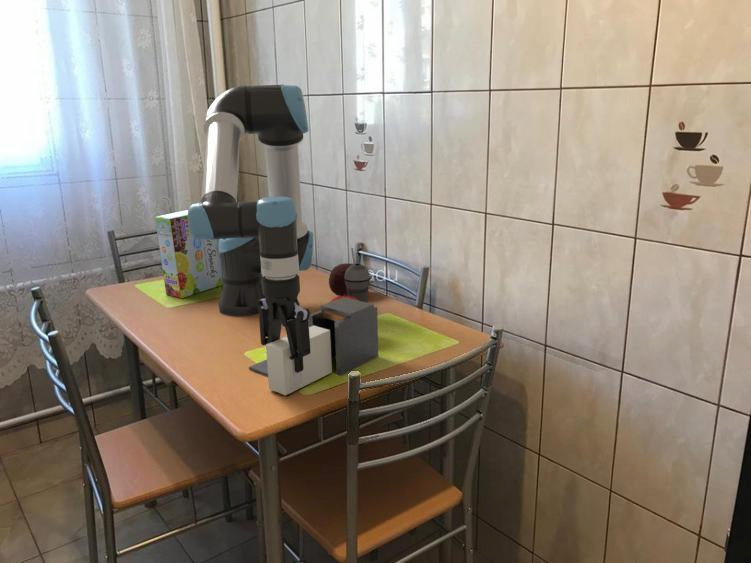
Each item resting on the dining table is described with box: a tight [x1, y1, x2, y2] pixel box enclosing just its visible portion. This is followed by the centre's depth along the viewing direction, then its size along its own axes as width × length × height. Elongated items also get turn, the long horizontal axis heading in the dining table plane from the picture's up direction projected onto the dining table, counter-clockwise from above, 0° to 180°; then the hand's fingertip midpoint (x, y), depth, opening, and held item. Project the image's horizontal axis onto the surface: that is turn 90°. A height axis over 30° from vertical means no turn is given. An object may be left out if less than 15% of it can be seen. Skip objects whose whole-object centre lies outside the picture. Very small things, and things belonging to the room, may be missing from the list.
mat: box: [248, 359, 268, 377], centre depth 146 cm, size 9×16×1 cm, turn 141°
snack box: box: [154, 209, 223, 299], centre depth 201 cm, size 22×9×26 cm, turn 144°
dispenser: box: [308, 297, 379, 377], centre depth 144 cm, size 9×13×13 cm
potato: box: [328, 262, 353, 297], centre depth 193 cm, size 11×13×10 cm
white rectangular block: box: [265, 325, 333, 396], centre depth 134 cm, size 5×14×10 cm, turn 141°
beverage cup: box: [344, 247, 371, 303], centre depth 171 cm, size 7×7×20 cm
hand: (287, 381), depth 132 cm, fingers closed on white rectangular block, 5 cm apart
